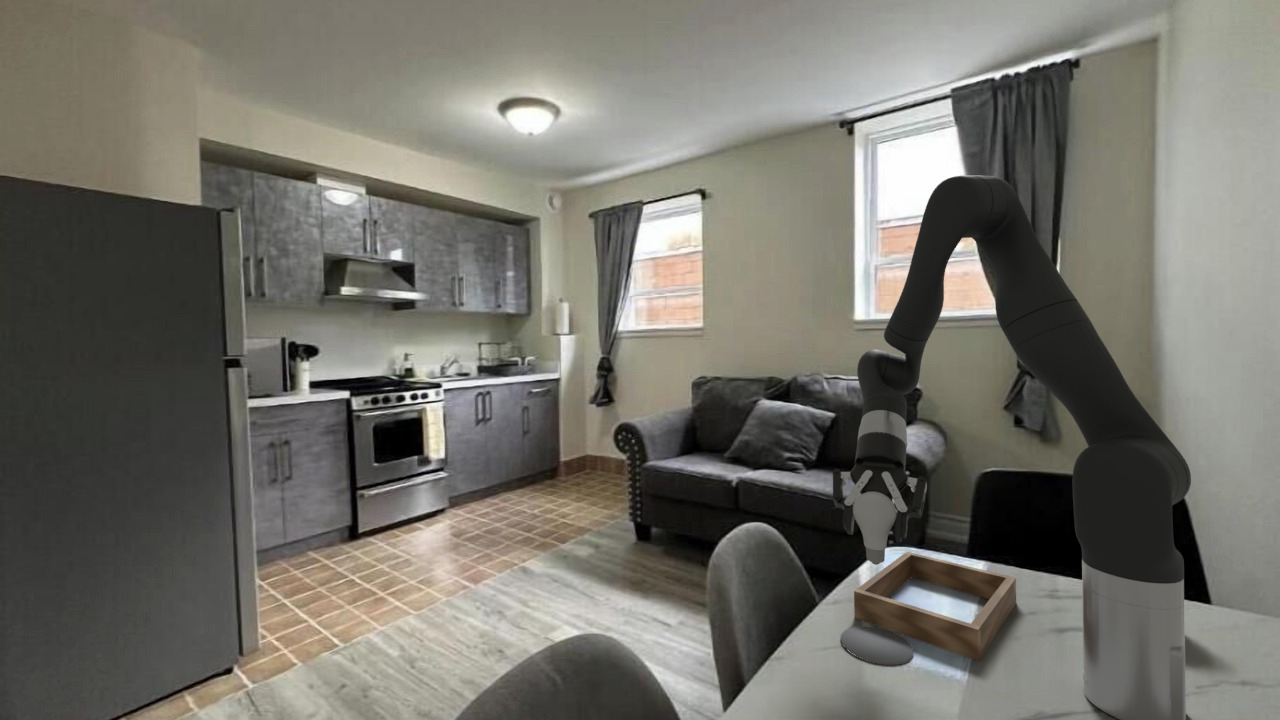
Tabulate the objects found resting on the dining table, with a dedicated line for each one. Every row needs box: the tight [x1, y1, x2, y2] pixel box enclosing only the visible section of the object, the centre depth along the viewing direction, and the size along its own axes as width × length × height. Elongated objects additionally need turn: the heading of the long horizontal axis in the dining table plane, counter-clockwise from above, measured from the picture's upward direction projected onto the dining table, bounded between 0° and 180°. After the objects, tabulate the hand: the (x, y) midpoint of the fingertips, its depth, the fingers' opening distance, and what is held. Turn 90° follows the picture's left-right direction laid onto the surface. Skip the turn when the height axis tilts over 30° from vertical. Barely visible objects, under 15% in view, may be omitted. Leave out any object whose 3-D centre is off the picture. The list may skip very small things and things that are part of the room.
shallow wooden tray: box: [853, 551, 1017, 662], centre depth 90 cm, size 18×24×4 cm
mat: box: [840, 625, 914, 666], centre depth 80 cm, size 10×10×1 cm
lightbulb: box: [853, 492, 897, 566], centre depth 80 cm, size 6×6×11 cm
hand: (873, 535), depth 79 cm, fingers closed on lightbulb, 6 cm apart
